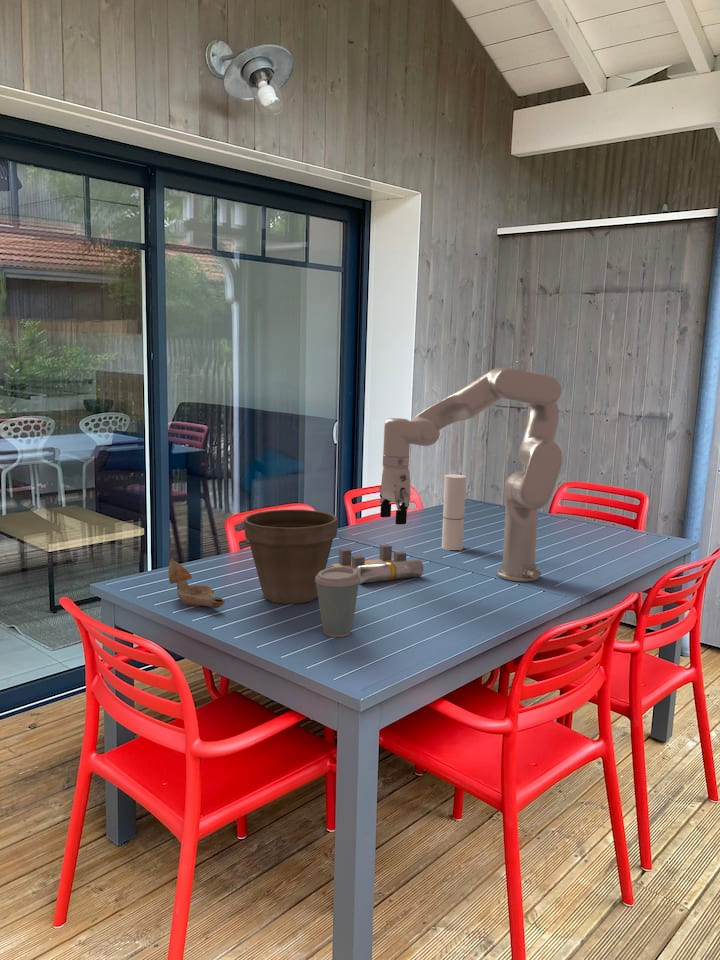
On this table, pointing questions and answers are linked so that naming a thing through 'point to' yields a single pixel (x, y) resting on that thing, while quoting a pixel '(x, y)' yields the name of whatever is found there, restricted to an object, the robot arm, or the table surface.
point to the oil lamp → (191, 588)
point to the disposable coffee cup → (337, 599)
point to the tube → (390, 571)
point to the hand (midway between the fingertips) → (392, 520)
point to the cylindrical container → (453, 512)
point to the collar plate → (360, 560)
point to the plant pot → (290, 551)
